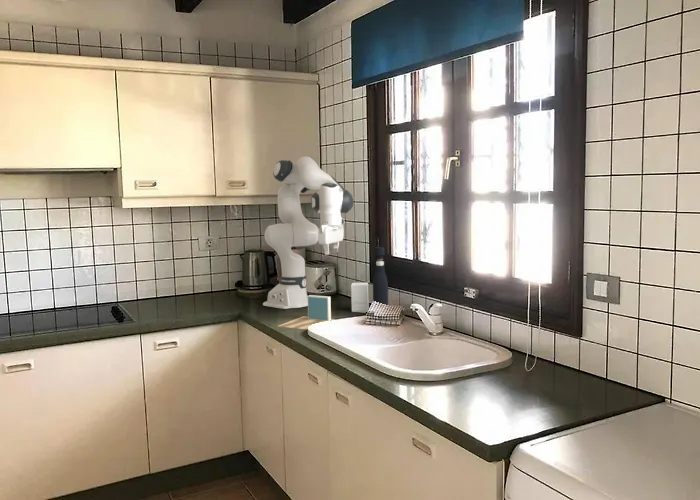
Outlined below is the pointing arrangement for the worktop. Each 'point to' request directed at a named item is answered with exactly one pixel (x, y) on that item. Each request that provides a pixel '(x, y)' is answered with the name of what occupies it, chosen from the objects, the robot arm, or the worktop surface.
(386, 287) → the navy water bottle
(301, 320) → the trivet
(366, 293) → the supplement box
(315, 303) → the tile
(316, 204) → the robot arm
